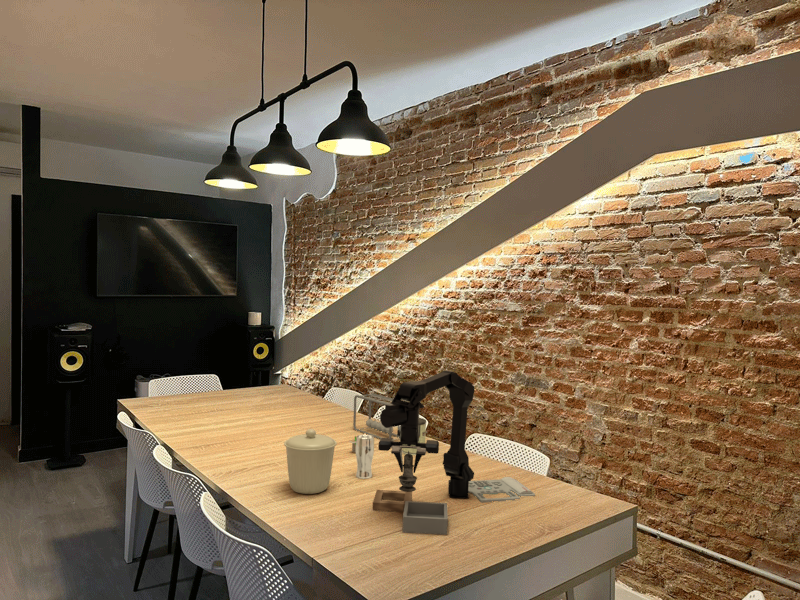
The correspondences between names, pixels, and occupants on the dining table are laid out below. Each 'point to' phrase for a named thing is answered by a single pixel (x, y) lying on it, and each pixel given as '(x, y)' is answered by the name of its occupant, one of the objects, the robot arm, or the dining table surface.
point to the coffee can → (421, 437)
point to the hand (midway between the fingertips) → (408, 472)
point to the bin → (425, 517)
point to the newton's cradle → (370, 422)
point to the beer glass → (364, 455)
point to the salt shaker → (408, 475)
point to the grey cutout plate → (498, 489)
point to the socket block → (391, 505)
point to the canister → (309, 461)
